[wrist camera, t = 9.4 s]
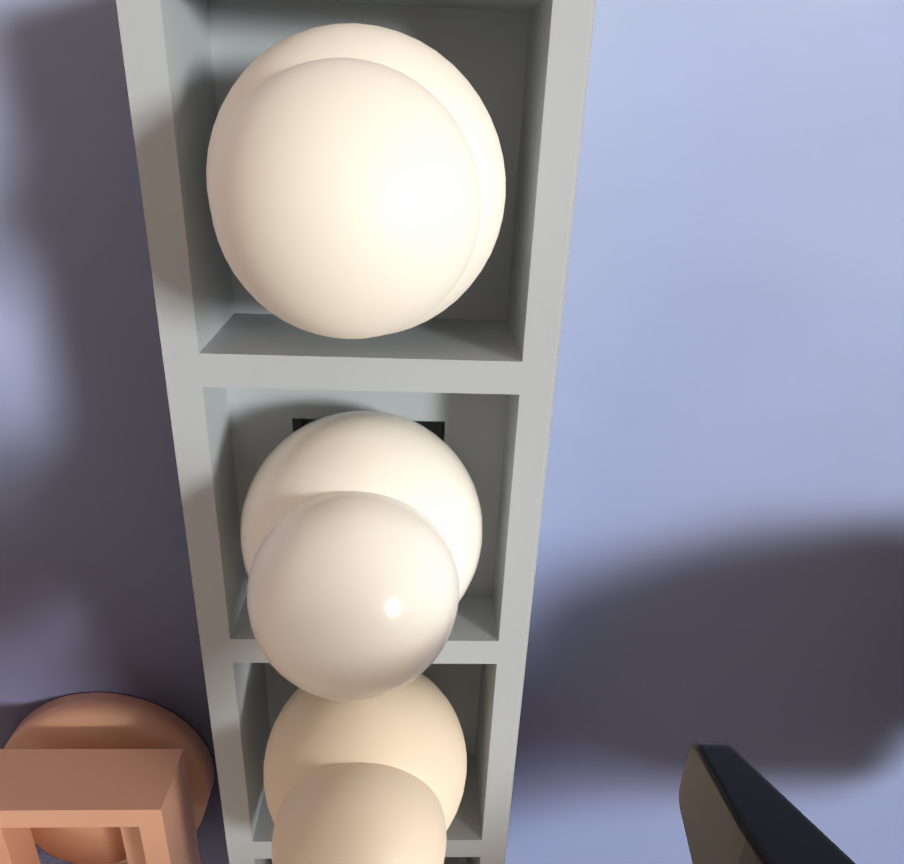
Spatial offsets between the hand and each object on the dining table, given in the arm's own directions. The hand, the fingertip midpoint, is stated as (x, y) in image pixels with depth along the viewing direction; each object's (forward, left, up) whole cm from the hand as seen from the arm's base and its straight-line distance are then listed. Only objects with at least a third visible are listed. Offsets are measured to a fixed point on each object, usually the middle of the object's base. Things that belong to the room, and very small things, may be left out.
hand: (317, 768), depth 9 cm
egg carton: (0, +3, -10) cm, 10 cm away
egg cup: (+8, +12, -10) cm, 17 cm away
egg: (0, 0, -8) cm, 8 cm away
